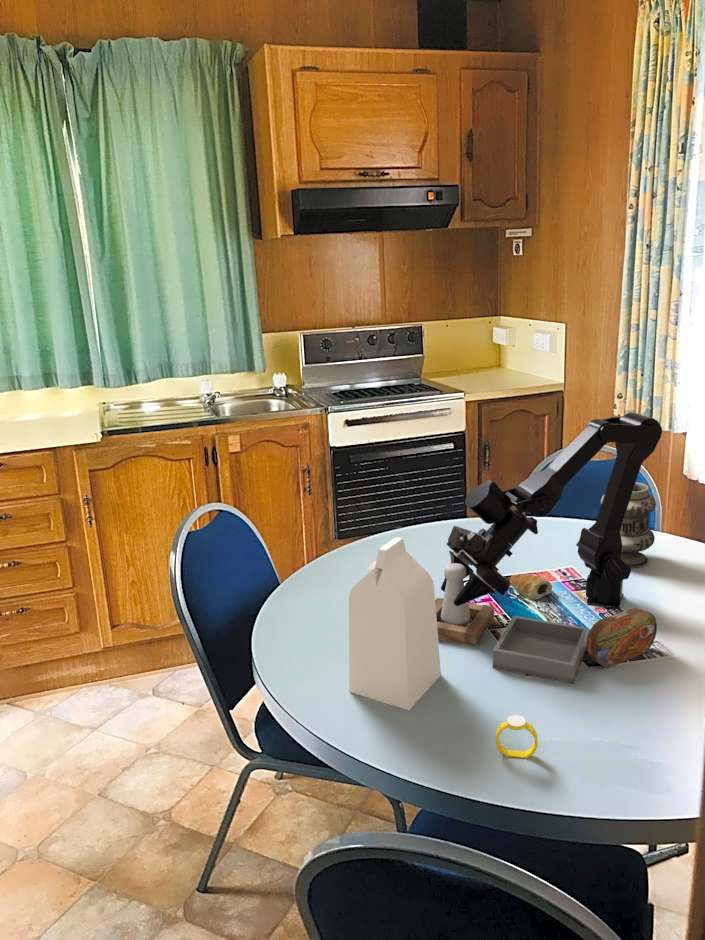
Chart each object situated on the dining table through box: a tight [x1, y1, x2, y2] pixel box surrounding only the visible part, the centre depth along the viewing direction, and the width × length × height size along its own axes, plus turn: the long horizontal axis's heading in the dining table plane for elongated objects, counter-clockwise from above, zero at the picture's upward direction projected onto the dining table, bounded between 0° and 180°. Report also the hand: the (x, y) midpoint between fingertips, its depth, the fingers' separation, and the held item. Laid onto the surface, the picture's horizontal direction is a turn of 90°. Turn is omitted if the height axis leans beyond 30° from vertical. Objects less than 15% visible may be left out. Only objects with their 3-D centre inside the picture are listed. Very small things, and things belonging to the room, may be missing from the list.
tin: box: [586, 607, 658, 668], centre depth 136 cm, size 15×3×8 cm, turn 117°
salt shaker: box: [440, 563, 471, 627], centre depth 149 cm, size 6×6×13 cm
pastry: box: [509, 573, 553, 601], centre depth 165 cm, size 9×7×4 cm
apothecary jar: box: [600, 481, 657, 569], centre depth 175 cm, size 12×12×18 cm
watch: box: [495, 715, 539, 759], centre depth 112 cm, size 6×3×6 cm, turn 78°
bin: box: [492, 615, 590, 685], centre depth 138 cm, size 14×14×4 cm
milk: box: [348, 536, 442, 711], centre depth 129 cm, size 12×12×26 cm
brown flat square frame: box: [435, 597, 495, 647], centre depth 150 cm, size 12×12×2 cm
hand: (448, 597), depth 149 cm, fingers open, 6 cm apart
